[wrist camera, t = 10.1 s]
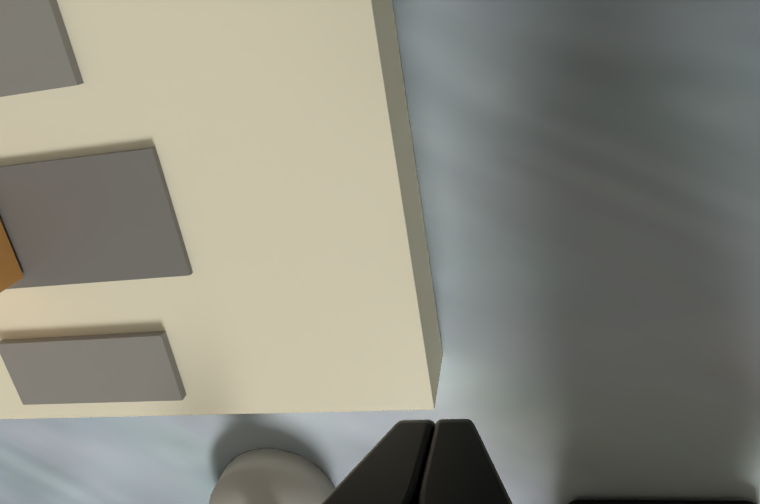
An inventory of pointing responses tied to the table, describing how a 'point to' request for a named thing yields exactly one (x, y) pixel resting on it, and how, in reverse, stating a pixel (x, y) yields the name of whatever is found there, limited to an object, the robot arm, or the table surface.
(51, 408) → the breaker board
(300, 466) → the cable post
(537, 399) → the table surface
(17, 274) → the switch
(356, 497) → the robot arm
